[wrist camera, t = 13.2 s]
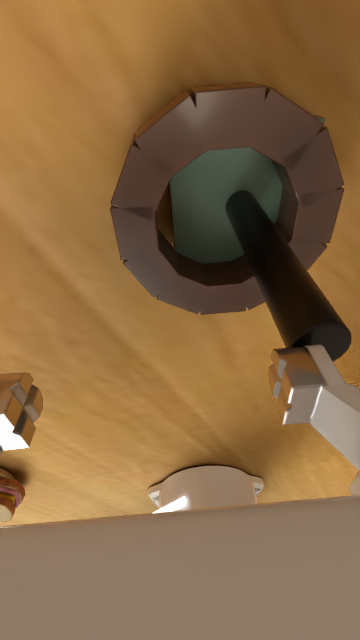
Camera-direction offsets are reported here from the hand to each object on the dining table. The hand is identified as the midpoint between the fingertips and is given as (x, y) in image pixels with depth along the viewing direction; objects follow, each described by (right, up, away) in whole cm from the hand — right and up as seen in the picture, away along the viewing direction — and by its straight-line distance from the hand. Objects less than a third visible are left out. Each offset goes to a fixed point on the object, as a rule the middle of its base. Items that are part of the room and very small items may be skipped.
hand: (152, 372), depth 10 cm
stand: (+5, +10, +11) cm, 16 cm away
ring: (+3, +9, +10) cm, 14 cm away
